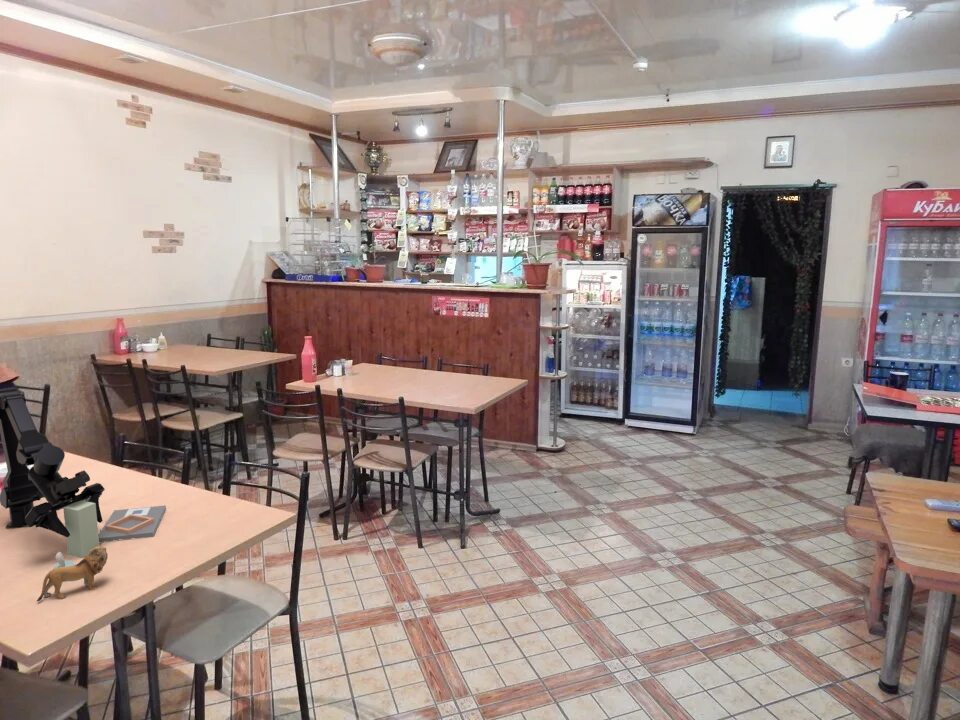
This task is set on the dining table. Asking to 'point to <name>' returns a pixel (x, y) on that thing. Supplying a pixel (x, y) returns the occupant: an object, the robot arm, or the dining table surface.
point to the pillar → (81, 528)
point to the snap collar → (114, 524)
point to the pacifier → (62, 561)
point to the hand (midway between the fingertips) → (85, 528)
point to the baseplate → (133, 523)
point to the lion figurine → (76, 572)
